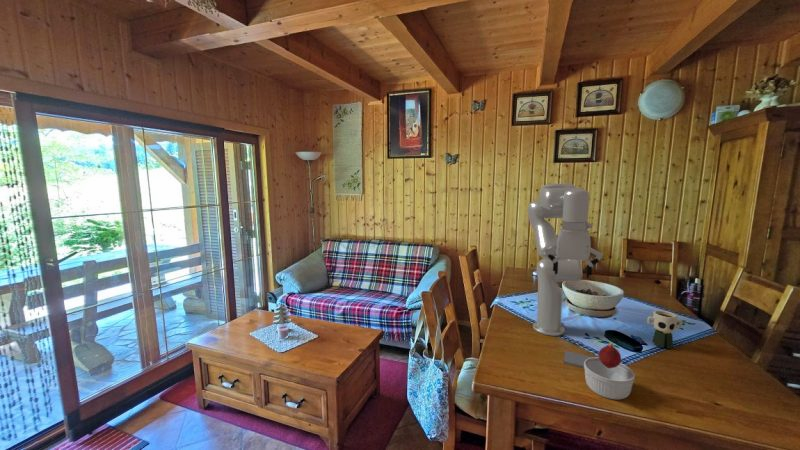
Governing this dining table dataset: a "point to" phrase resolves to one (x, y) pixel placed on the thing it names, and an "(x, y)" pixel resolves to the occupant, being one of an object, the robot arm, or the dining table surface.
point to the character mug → (664, 327)
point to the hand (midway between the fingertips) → (571, 275)
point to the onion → (609, 356)
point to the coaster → (575, 359)
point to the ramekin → (608, 379)
